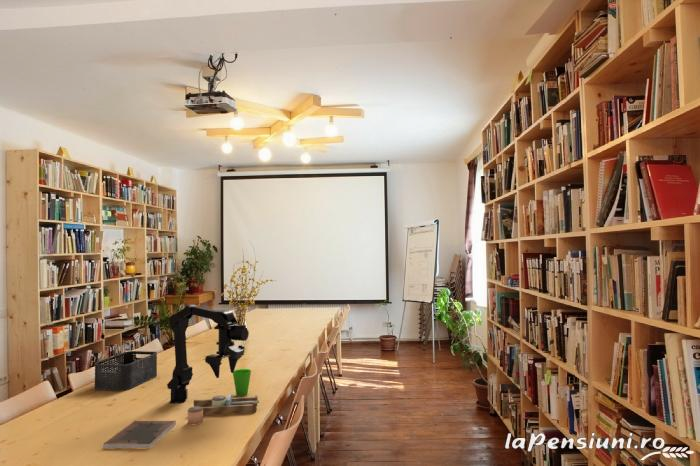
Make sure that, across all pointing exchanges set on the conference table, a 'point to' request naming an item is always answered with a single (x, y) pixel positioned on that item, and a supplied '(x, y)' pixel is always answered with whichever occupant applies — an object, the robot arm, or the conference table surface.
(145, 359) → the storage bin
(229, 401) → the pusher
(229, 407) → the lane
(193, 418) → the jar
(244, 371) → the cup
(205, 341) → the conference table surface
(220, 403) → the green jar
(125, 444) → the picture frame
